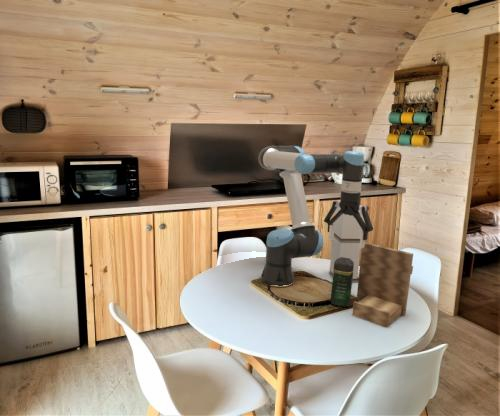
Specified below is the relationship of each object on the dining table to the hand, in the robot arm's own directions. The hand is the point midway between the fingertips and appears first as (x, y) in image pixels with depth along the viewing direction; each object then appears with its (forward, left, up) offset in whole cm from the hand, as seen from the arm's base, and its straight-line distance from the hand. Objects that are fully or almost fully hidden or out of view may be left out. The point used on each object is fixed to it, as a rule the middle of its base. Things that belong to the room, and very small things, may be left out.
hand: (346, 243), depth 175 cm
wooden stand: (+14, +1, -25) cm, 29 cm away
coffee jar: (0, 0, -25) cm, 25 cm away
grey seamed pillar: (-12, +26, -25) cm, 38 cm away
